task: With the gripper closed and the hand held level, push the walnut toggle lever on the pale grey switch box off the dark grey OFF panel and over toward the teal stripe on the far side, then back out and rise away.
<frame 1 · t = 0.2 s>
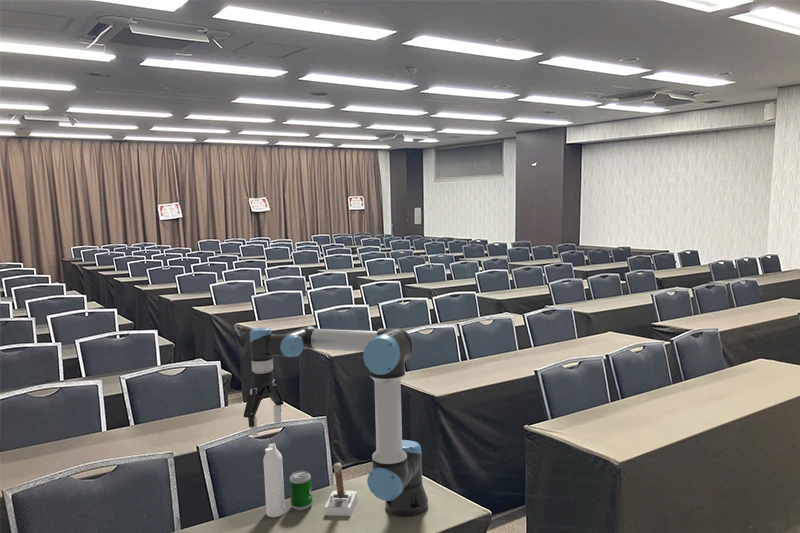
hand: (266, 428, 206), 28 cm above the table, tool pointing down, fingers open, 13 cm apart
water bottle: (275, 515, 200), on the table
lever: (339, 481, 201), point 10 cm above the table, hinge at -12.0°
soda can: (301, 507, 205), on the table
switch box: (341, 507, 203), on the table
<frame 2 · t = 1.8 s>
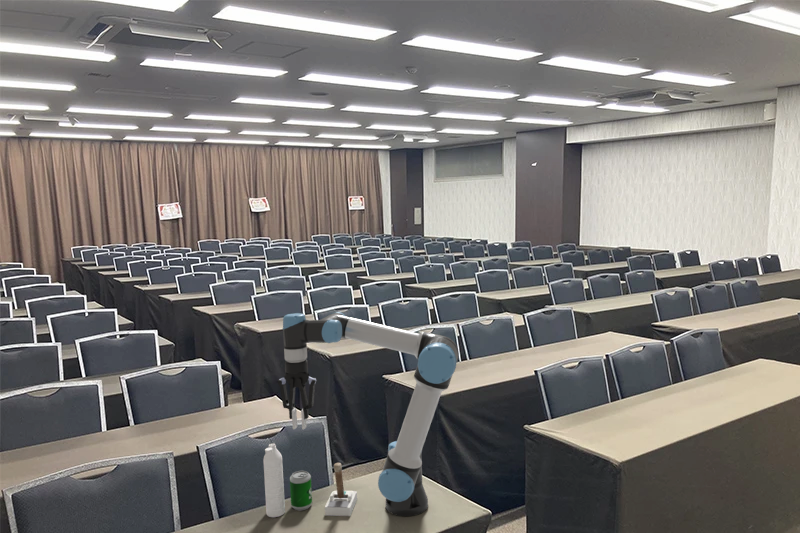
hand: (299, 427, 193), 33 cm above the table, tool pointing down, fingers open, 3 cm apart
nothing on the table moved.
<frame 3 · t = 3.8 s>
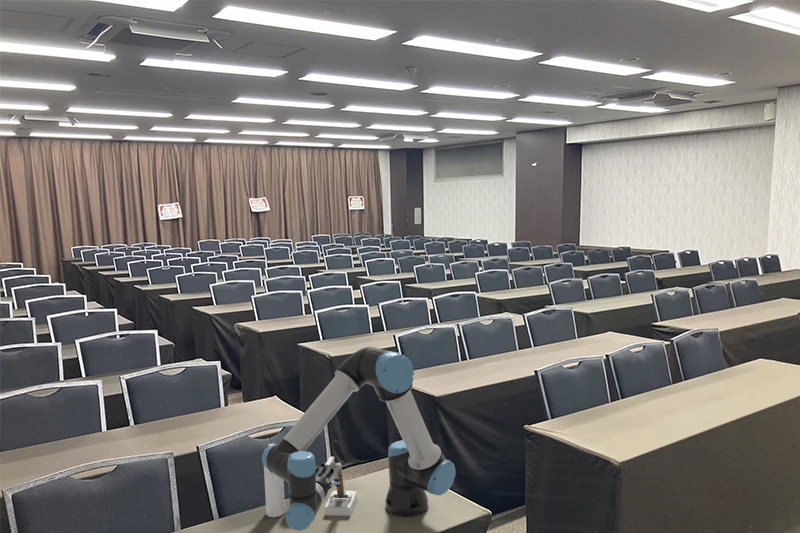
hand: (332, 460, 192), 21 cm above the table, tool horizontal, fingers closed
nothing on the table moved.
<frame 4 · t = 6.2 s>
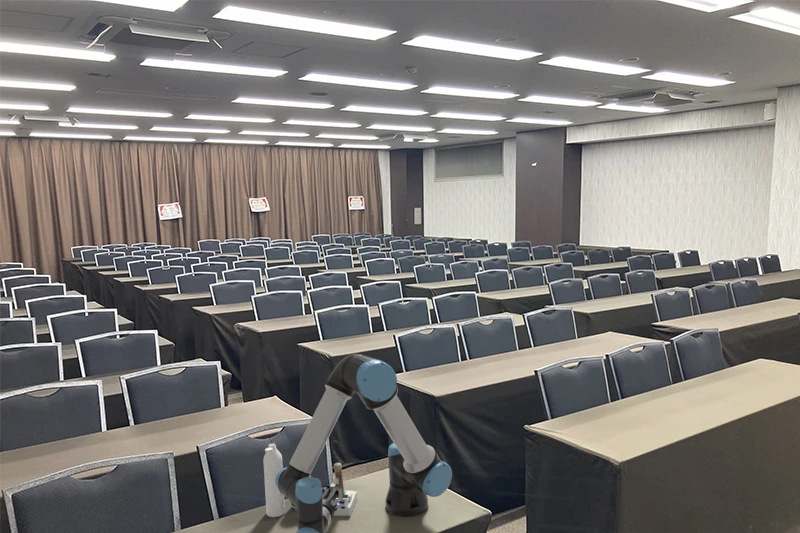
hand: (336, 481, 199), 11 cm above the table, tool horizontal, fingers closed
lever: (339, 481, 201), point 10 cm above the table, hinge at -11.8°, touching gripper
everything else where it was.
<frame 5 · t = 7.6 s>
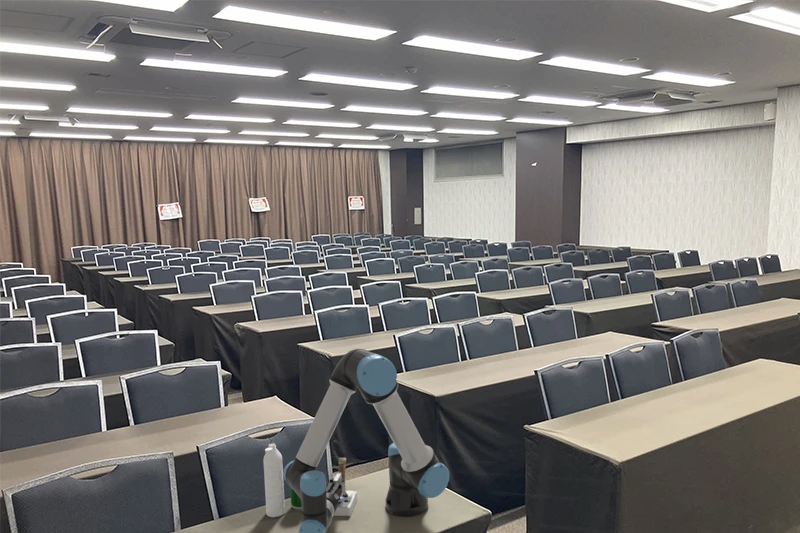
hand: (339, 476, 203), 11 cm above the table, tool horizontal, fingers closed
lever: (341, 477, 205), point 10 cm above the table, hinge at 22.1°, touching gripper
everything else where it was.
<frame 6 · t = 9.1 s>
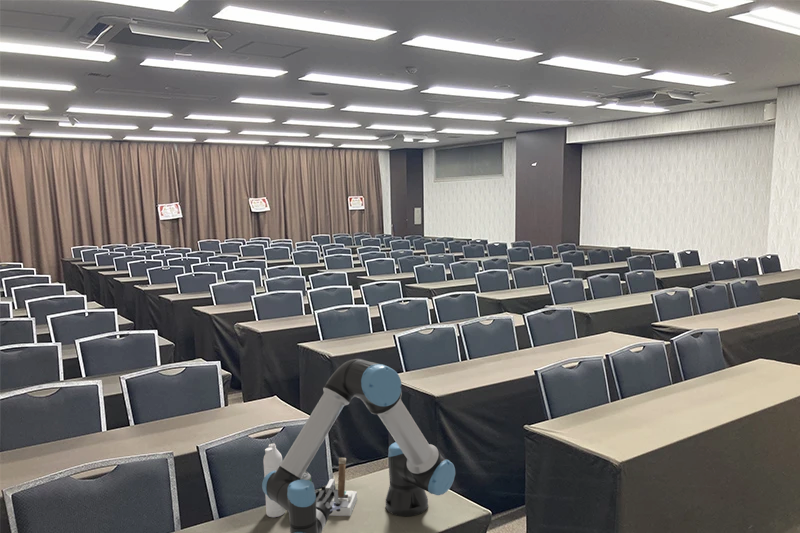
hand: (332, 482, 193), 14 cm above the table, tool horizontal, fingers closed
lever: (341, 477, 205), point 10 cm above the table, hinge at 22.2°
everything else where it was.
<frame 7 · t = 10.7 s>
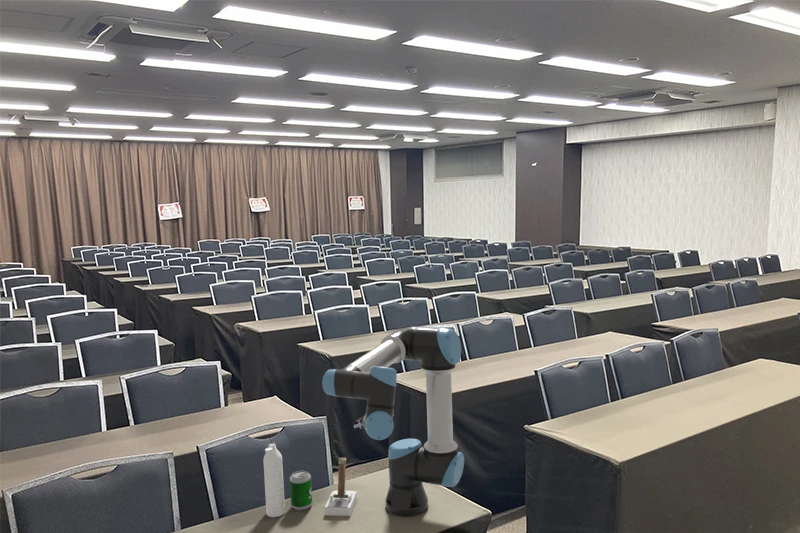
hand: (370, 416, 188), 37 cm above the table, tool tilted 75°, fingers closed
nothing on the table moved.
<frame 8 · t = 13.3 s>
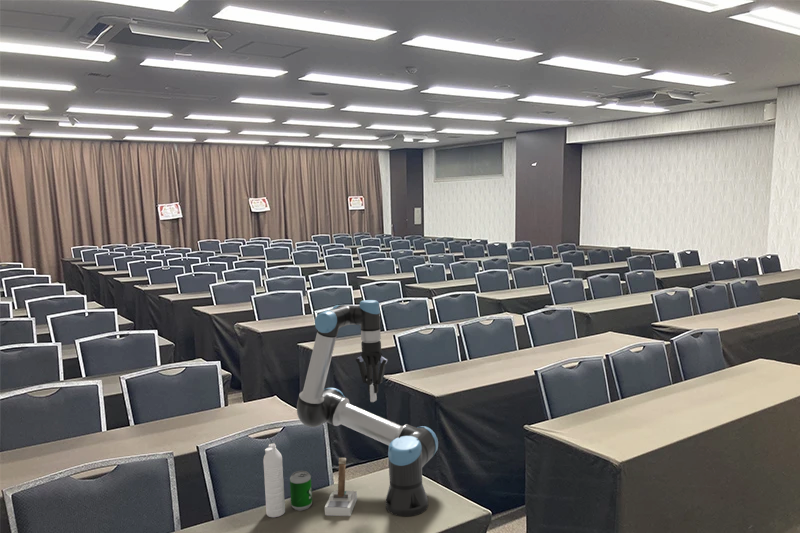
hand: (373, 400, 220), 32 cm above the table, tool pointing down, fingers closed
nothing on the table moved.
at the end: lever at +22° (first picture: -12°); soda can moved 0.2 cm from its start; water bottle moved 0.2 cm from its start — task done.
